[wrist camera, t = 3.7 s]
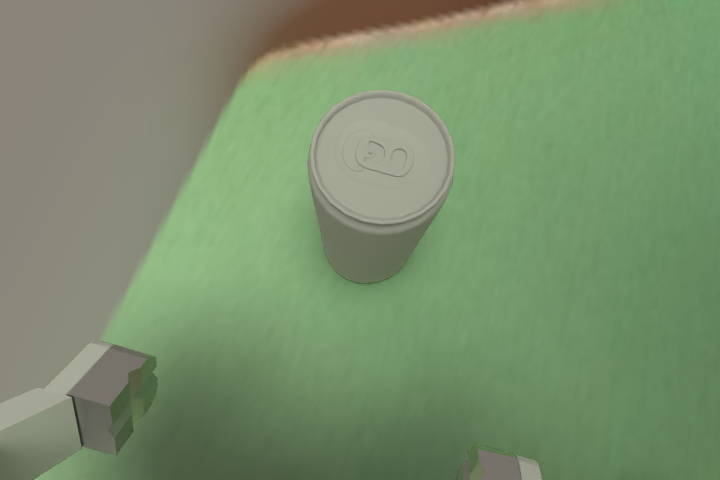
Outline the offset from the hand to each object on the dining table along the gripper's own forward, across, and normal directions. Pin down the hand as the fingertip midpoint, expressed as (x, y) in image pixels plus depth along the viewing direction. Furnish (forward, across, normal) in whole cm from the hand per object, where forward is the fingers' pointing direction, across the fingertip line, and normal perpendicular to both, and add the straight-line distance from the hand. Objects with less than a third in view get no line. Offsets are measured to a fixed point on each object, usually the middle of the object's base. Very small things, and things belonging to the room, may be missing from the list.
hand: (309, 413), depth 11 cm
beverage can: (+15, 0, +4) cm, 15 cm away
